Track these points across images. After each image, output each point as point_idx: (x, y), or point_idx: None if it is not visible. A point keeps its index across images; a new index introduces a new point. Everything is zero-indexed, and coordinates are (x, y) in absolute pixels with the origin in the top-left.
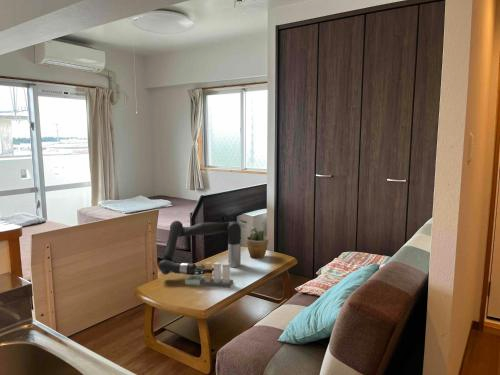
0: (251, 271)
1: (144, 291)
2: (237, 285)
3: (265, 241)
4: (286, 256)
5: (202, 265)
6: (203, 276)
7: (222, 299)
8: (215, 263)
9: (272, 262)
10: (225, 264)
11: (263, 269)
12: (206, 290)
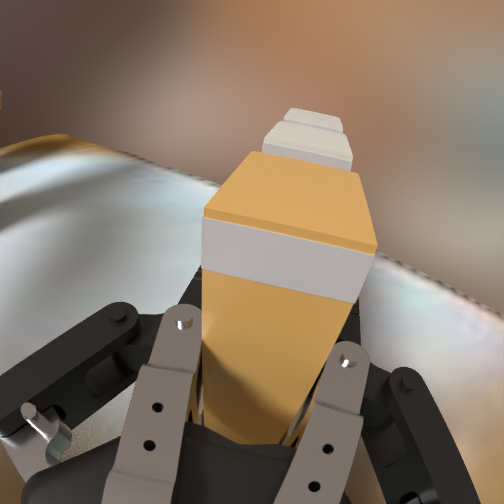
0: (88, 188)
1: None
2: None
3: (1, 95)
4: (31, 139)
5: (28, 408)
6: None
7: (484, 310)
8: (323, 143)
9: (46, 153)
10: (333, 121)
11: (92, 165)
12: None
